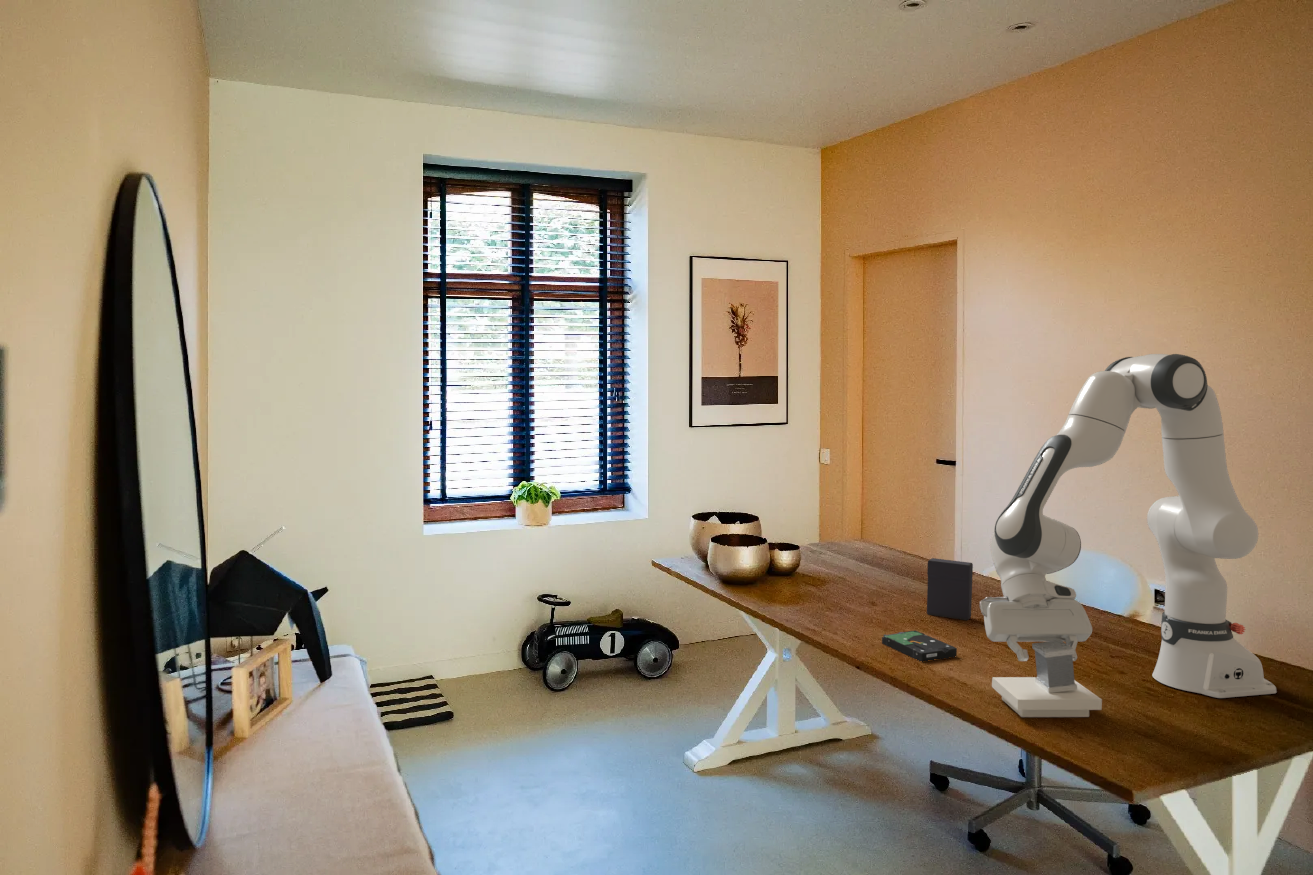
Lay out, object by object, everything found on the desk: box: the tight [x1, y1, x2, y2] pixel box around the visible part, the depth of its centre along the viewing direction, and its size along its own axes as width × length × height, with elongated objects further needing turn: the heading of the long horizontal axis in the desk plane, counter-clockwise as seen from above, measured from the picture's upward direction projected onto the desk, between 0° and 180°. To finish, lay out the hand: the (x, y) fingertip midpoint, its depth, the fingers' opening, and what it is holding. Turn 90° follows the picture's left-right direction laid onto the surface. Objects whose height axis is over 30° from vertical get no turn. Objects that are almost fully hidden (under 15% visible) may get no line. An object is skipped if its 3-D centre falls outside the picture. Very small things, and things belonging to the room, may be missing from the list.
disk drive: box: [881, 630, 958, 663], centre depth 207 cm, size 10×3×15 cm
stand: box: [991, 676, 1103, 718], centre depth 171 cm, size 16×12×4 cm
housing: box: [1031, 640, 1077, 693], centre depth 171 cm, size 6×6×8 cm
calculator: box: [926, 557, 974, 621], centre depth 235 cm, size 11×4×15 cm, turn 58°
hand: (1048, 659), depth 170 cm, fingers open, 8 cm apart
